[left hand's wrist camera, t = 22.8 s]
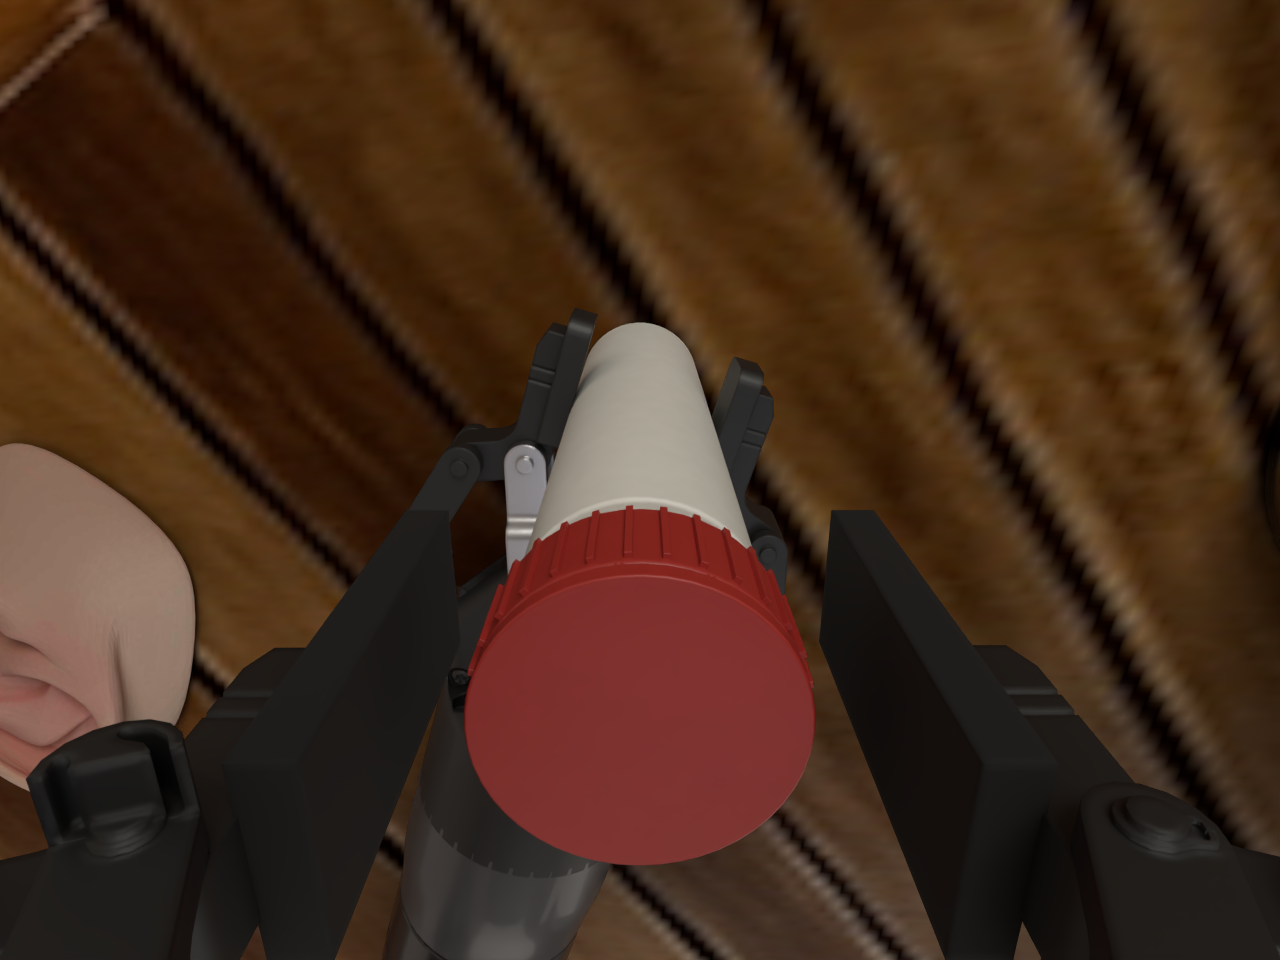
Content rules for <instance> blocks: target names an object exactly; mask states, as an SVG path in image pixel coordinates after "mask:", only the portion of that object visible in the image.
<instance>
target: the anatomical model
mask: <svg viewBox="0 0 1280 960" xmlns="http://www.w3.org/2000/svg"><path fill="white" fill-rule="evenodd" d="M194 639H195V601H194V593H193V587H192V582H191V578H190V574H189V572H188V569H187V566H186V564H185V562H184V560H183V558H182V556H181V555H180V553H179V552H178V550H177V549H176V547H175V546H174V544H173V543H172V541H171V540H170V539H169V538H168V537H167V536H166V535H165V533H164V532H163V531H162V530H161V529H160V528H159V527H158V526H157V525H156V524H155V523H154V522H153V521H152V520H151V519H150V518H149V517H148V516H147V515H146V514H144V513H143V512H142V511H141V510H140V509H138V508H137V507H136V506H135V505H133V504H132V503H131V502H130V501H129V500H127V499H126V498H125V497H123V496H122V495H120V494H119V493H118V492H116V491H115V490H113V489H112V488H111V487H109V486H108V485H106V484H105V483H103V482H102V481H100V480H99V479H97V478H96V477H94V476H93V475H91V474H89V473H88V472H86V471H85V470H83V469H82V468H80V467H78V466H76V465H75V464H73V463H71V462H69V461H67V460H65V459H64V458H62V457H60V456H58V455H56V454H54V453H52V452H50V451H47V450H45V449H42V448H39V447H36V446H33V445H28V444H21V443H14V444H7V445H4V446H1V447H0V776H1V777H3V778H5V779H6V780H8V781H10V782H12V783H13V784H15V785H17V786H19V787H21V788H23V789H26V790H28V791H30V790H29V788H28V785H27V782H26V778H27V777H28V775H29V774H30V773H31V772H32V771H33V769H34V768H35V767H36V766H37V765H38V763H39V762H40V761H41V760H42V759H44V758H45V757H46V756H48V755H49V754H51V753H52V752H53V751H55V750H56V749H58V748H59V747H60V746H62V745H63V744H65V743H67V742H69V741H71V740H73V739H75V738H77V737H79V736H82V735H84V734H86V733H88V732H90V731H92V730H95V729H98V728H102V727H105V726H109V725H112V724H116V723H120V722H123V721H134V720H145V719H152V720H158V721H163V722H169V723H171V724H172V725H174V726H175V724H176V722H177V720H178V719H179V716H180V713H181V711H182V708H183V705H184V702H185V699H186V695H187V690H188V685H189V680H190V675H191V668H192V661H193V651H194Z"/></svg>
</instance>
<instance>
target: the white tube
mask: <svg viewBox="0 0 1280 960" xmlns="http://www.w3.org/2000/svg"><path fill="white" fill-rule="evenodd" d="M628 505H633V509H650V510H660V506H662V507H667V508H668V512H673V513H678V514H683V515H686V516H689V517H692V516H693V514H696V515H699V516H700V517H701V521H704V522H706V523H708V524H710V525H712V526H714V527H716V528H718V529H720V530H722V529H723V528H724V527H725V528H727V529H729V530H730V533H731V536H732V537H733V538H734V539H736V540H737V541H738V542H739V543H741V544H742V545H743V546H744V547H745V548H746V549H747V548H748V547H749V546H751V547H752V545H751V542H750V539H749V536H748V533H747V529H746V526H745V523H744V520H743V517H742V513H741V510H740V507H739V504H738V501H737V498H736V494H735V491H734V488H733V485H732V482H731V478H730V475H729V472H728V469H727V466H726V463H725V459H724V456H723V453H722V450H721V447H720V443H719V440H718V437H717V434H716V431H715V428H714V424H713V421H712V418H711V415H710V412H709V408H708V405H707V402H706V399H705V396H704V393H703V389H702V386H701V383H700V380H699V377H698V374H697V370H696V367H695V364H694V361H693V358H692V356H691V354H690V352H689V350H688V348H687V347H686V346H685V344H684V343H683V342H682V341H681V340H680V339H679V338H678V337H677V336H676V335H674V334H673V333H672V332H670V331H668V330H667V329H665V328H662V327H660V326H657V325H653V324H648V323H631V324H626V325H622V326H620V327H617V328H615V329H613V330H611V331H609V332H608V333H606V334H605V335H604V336H603V337H601V338H600V339H599V340H598V341H597V343H596V344H595V345H594V347H593V348H592V349H591V351H590V353H589V355H588V357H587V360H586V363H585V366H584V369H583V372H582V375H581V378H580V382H579V385H578V388H577V392H576V395H575V398H574V402H573V405H572V408H571V411H570V414H569V417H568V420H567V423H566V426H565V429H564V432H563V436H562V439H561V442H560V445H559V448H558V451H557V455H556V458H555V461H554V464H553V467H552V470H551V474H550V477H549V480H548V483H547V486H546V489H545V493H544V496H543V499H542V502H541V505H540V508H539V512H538V515H537V518H536V521H535V524H534V527H533V531H532V534H531V537H530V540H529V543H528V547H527V550H526V553H525V556H526V555H527V554H528V553H529V551H530V550H531V549H532V546H533V543H534V541H535V540H536V539H538V538H540V539H541V540H542V541H543V540H544V539H545V538H546V537H548V536H550V535H551V534H553V533H554V532H556V531H558V530H559V529H560V526H561V523H563V522H566V521H568V523H569V524H572V523H574V522H576V521H578V520H581V519H584V518H587V517H590V516H592V512H593V511H596V510H599V511H600V513H606V512H612V511H618V510H624V509H625V510H626V506H628ZM525 556H524V557H525Z"/></svg>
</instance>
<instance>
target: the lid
mask: <svg viewBox="0 0 1280 960" xmlns="http://www.w3.org/2000/svg"><path fill="white" fill-rule="evenodd" d="M807 657H808V656H807V653H806V651H805V648H804V645H803V642H802V640H801V637H800V634H799V631H798V628H797V626H796V623H795V620H794V617H793V614H792V612H791V609H790V606H789V603H788V601H787V598H786V595H782V594H781V591H780V588H779V586H778V583H777V580H776V577H775V574H774V572H773V571H772V569H769V570H768V571H766V570H765V568H764V567H763V565H762V564H761V563H760V562H759V561H758V558H757V555H756V552H755V549H753V548H752V547H751V546H749V547H748V548H747V549H746V548H745V547H744V546H743V545H742V544H741V543H739V542H738V541H737V540H736V539H734V538H733V537H732V536H731V533H730V530H729V529H727V528H725V527H724V528H723V529H722V530H720V529H718V528H716V527H714V526H712V525H710V524H708V523H706V522H704V521H701V517H700V516H699V515H696V514H693V516H692V517H689V516H686V515H683V514H678V513H673V512H668V508H667V507H662V506H660V510H650V509H633V505H628V506H626V510H625V509H624V510H618V511H612V512H606V513H600V511H599V510H596V511H593V512H592V516H590V517H587V518H584V519H581V520H578V521H576V522H574V523H572V524H569V523H568V521H566V522H563V523H561V526H560V529H559V530H558V531H556V532H554V533H553V534H551V535H550V536H548V537H546V538H545V539H544V540H543V541H542V540H541V539H540V538H538V539H536V540H535V541H534V543H533V546H532V549H531V550H530V551H529V553H528V554H527V555H526V556H525V557H524V558H523V559H522V560H521V561H519V560H517V559H515V561H514V562H513V563H512V566H511V569H510V571H509V574H508V577H507V580H506V583H505V585H501V584H499V585H498V587H497V589H496V592H495V595H494V597H493V600H492V603H491V606H490V609H489V611H488V614H487V617H486V620H485V622H484V625H483V628H482V631H481V634H480V636H479V639H478V642H477V646H476V648H475V651H474V654H473V657H472V660H471V662H470V665H469V668H468V672H467V675H468V676H471V680H470V683H469V686H468V689H467V693H466V698H465V706H464V732H465V738H466V745H467V749H468V752H469V755H470V758H471V761H472V765H473V767H474V769H475V771H476V773H477V775H478V777H479V779H480V782H481V783H482V785H483V786H484V788H485V789H486V791H487V792H488V794H489V795H490V797H491V798H492V800H493V801H494V802H495V803H496V804H497V805H498V806H499V807H500V808H501V810H502V811H503V812H504V813H505V814H506V815H507V816H508V817H510V818H511V819H512V820H513V821H514V822H515V823H516V824H518V825H519V826H520V827H521V828H523V829H524V830H526V831H527V832H529V833H530V834H532V835H533V836H535V837H536V838H538V839H540V840H542V841H543V842H545V843H547V844H549V845H551V846H553V847H555V848H557V849H560V850H563V851H565V852H568V853H570V854H573V855H576V856H580V857H583V858H587V859H591V860H594V861H600V862H606V863H612V864H622V865H659V864H667V863H674V862H680V861H684V860H688V859H692V858H697V857H700V856H703V855H706V854H709V853H711V852H714V851H717V850H720V849H722V848H724V847H726V846H728V845H730V844H732V843H734V842H736V841H738V840H740V839H741V838H743V837H744V836H746V835H748V834H749V833H751V832H752V831H754V830H755V829H757V828H758V827H759V826H760V825H761V824H763V823H764V822H765V821H766V820H768V819H769V818H770V817H771V816H772V815H773V814H774V813H775V812H776V811H777V810H778V809H779V808H780V807H781V806H782V805H783V804H784V802H785V801H786V800H787V798H788V797H789V795H790V794H791V793H792V791H793V790H794V789H795V787H796V785H797V783H798V782H799V780H800V778H801V776H802V774H803V772H804V770H805V768H806V765H807V762H808V759H809V756H810V754H811V750H812V745H813V740H814V735H815V717H816V713H815V705H814V697H813V692H812V689H811V688H814V682H813V679H812V676H811V673H810V670H809V668H808V665H807V662H806V659H805V658H807Z"/></svg>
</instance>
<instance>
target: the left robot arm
mask: <svg viewBox="0 0 1280 960" xmlns="http://www.w3.org/2000/svg"><path fill="white" fill-rule="evenodd" d="M1265 502H1266V508H1267V515H1268V520H1269V523H1270V526H1271V530H1272V533H1273V535H1274V538H1275V540H1276V542H1277V545H1278V547H1279V548H1280V419H1279V421H1278V424H1277V427H1276V429H1275V432H1274V436H1273V439H1272V442H1271V446H1270V450H1269V455H1268V460H1267V466H1266V477H1265ZM460 642H461V639H460V628H459V617H458V607H457V596H456V585H455V575H454V564H453V553H452V543H451V532H450V521H449V511H448V510H406V511H405V513H404V514H403V515H402V517H401V518H400V519H399V521H398V522H397V524H396V525H395V526H394V528H393V529H392V530H391V532H390V533H389V535H388V536H387V537H386V539H385V540H384V541H383V543H382V544H381V546H380V547H379V548H378V550H377V551H376V552H375V554H374V555H373V556H372V558H371V559H370V561H369V562H368V563H367V565H366V566H365V567H364V569H363V570H362V572H361V573H360V574H359V576H358V577H357V578H356V580H355V581H354V583H353V584H352V585H351V587H350V588H349V589H348V591H347V592H346V594H345V595H344V596H343V598H342V599H341V600H340V602H339V603H338V604H337V606H336V607H335V609H334V610H333V611H332V613H331V614H330V615H329V617H328V618H327V620H326V621H325V622H324V624H323V625H322V626H321V628H320V629H319V631H318V632H317V633H316V635H315V636H314V637H313V639H312V640H311V641H310V643H309V644H308V646H307V647H306V648H274V649H272V650H271V651H269V652H268V653H266V654H265V655H263V656H262V657H260V658H259V659H257V660H255V661H254V662H252V663H251V664H249V665H248V666H246V667H245V668H243V670H242V671H241V672H240V673H239V674H238V676H237V677H236V678H235V679H234V680H233V682H232V683H231V684H230V685H229V686H228V688H227V689H226V690H225V691H224V692H223V697H219V698H218V700H217V701H216V702H215V703H214V705H213V706H212V707H211V708H210V709H209V711H208V712H207V716H206V718H202V719H201V720H200V721H199V723H198V724H197V725H196V726H195V727H194V729H193V730H192V731H191V732H190V733H189V735H188V736H187V737H186V738H185V740H184V738H183V734H182V732H181V731H180V730H179V729H177V728H176V727H175V726H174V725H172V724H171V723H169V722H163V721H158V720H152V719H145V720H134V721H123V722H120V723H116V724H112V725H109V726H105V727H102V728H98V729H95V730H92V731H90V732H88V733H86V734H84V735H82V736H79V737H77V738H75V739H73V740H71V741H69V742H67V743H65V744H63V745H62V746H60V747H59V748H58V749H56V750H55V751H53V752H52V753H51V754H49V755H48V756H46V757H45V758H44V759H42V760H41V761H40V762H39V763H38V765H37V766H36V767H35V768H34V769H33V771H32V772H31V773H30V774H29V775H28V777H27V778H26V782H27V785H28V788H29V790H30V793H31V796H32V799H33V802H34V805H35V808H36V811H37V814H38V816H39V819H40V822H41V825H42V828H43V831H44V834H45V837H46V840H47V843H48V845H49V847H48V849H45V850H42V851H38V852H34V853H30V854H26V855H21V856H17V857H13V858H8V859H4V860H0V960H240V958H241V956H242V954H243V952H244V950H245V949H246V947H247V945H248V943H249V941H250V939H251V937H252V935H253V933H254V931H255V929H256V927H257V925H258V924H259V928H260V932H261V937H262V941H263V945H264V949H265V954H266V958H267V960H335V957H336V955H337V952H338V950H339V947H340V945H341V942H342V940H343V937H344V935H345V932H346V930H347V927H348V925H349V922H350V920H351V917H352V915H353V912H354V909H355V907H356V904H357V902H358V899H359V897H360V894H361V892H362V889H363V887H364V884H365V882H366V879H367V877H368V874H369V872H370V869H371V867H372V864H373V862H374V859H375V857H376V854H377V852H378V849H379V846H380V844H381V841H382V839H383V836H384V834H385V831H386V829H387V826H388V824H389V821H390V819H391V816H392V814H393V811H394V809H395V806H396V804H397V801H398V799H399V796H400V794H401V791H402V788H403V786H404V783H405V781H406V778H407V776H408V773H409V771H410V768H411V766H412V763H413V761H414V758H415V756H416V753H417V751H418V748H419V746H420V743H421V741H422V738H423V736H424V733H425V731H426V728H427V725H428V723H429V720H430V718H431V715H432V713H433V710H434V708H435V705H436V703H437V700H438V698H439V695H440V693H441V690H442V688H443V685H444V683H445V680H446V678H447V675H448V673H449V670H450V667H451V665H452V662H453V660H454V657H455V655H456V652H457V650H458V647H459V645H460ZM819 642H820V645H821V647H822V650H823V652H824V655H825V657H826V660H827V662H828V665H829V667H830V670H831V673H832V675H833V678H834V680H835V683H836V685H837V688H838V690H839V693H840V695H841V698H842V700H843V703H844V705H845V708H846V710H847V713H848V715H849V718H850V720H851V723H852V725H853V728H854V731H855V733H856V736H857V738H858V741H859V743H860V746H861V748H862V751H863V753H864V756H865V758H866V761H867V763H868V766H869V768H870V771H871V773H872V776H873V778H874V781H875V783H876V786H877V788H878V791H879V794H880V796H881V799H882V801H883V804H884V806H885V809H886V811H887V814H888V816H889V819H890V821H891V824H892V826H893V829H894V831H895V834H896V836H897V839H898V841H899V844H900V846H901V849H902V852H903V854H904V857H905V859H906V862H907V864H908V867H909V869H910V872H911V874H912V877H913V879H914V882H915V884H916V887H917V889H918V892H919V894H920V897H921V899H922V902H923V904H924V907H925V909H926V912H927V915H928V917H929V920H930V922H931V925H932V927H933V930H934V932H935V935H936V937H937V940H938V942H939V945H940V947H941V950H942V952H943V955H944V957H945V960H1013V958H1014V954H1015V949H1016V945H1017V941H1018V937H1019V932H1020V928H1021V924H1022V921H1023V923H1024V925H1025V927H1026V929H1027V931H1028V933H1029V935H1030V937H1031V939H1032V941H1033V943H1034V944H1035V946H1036V948H1037V950H1038V952H1039V954H1040V956H1041V960H1280V857H1278V856H1274V855H1269V854H1265V853H1261V852H1256V851H1252V850H1248V849H1243V848H1240V847H1237V846H1233V845H1231V844H1230V843H1229V841H1228V840H1227V839H1226V837H1225V836H1224V834H1223V833H1222V832H1221V830H1220V829H1219V827H1218V826H1217V825H1216V824H1215V823H1213V822H1212V821H1211V820H1210V819H1209V818H1207V817H1206V816H1205V815H1204V814H1202V813H1201V812H1200V811H1199V810H1198V809H1196V808H1195V807H1193V806H1192V805H1190V804H1188V803H1186V802H1184V801H1182V800H1180V799H1178V798H1176V797H1175V796H1173V795H1171V794H1169V793H1167V792H1164V791H1161V790H1157V789H1154V788H1151V787H1148V786H1145V785H1142V784H1137V783H1134V781H1133V780H1132V779H1131V778H1130V777H1129V775H1128V774H1127V773H1126V772H1125V771H1124V769H1123V768H1122V767H1121V766H1120V765H1119V763H1118V762H1117V761H1116V760H1115V759H1114V757H1113V756H1112V755H1111V754H1110V753H1109V751H1108V750H1107V749H1106V748H1105V747H1104V745H1103V744H1102V743H1101V742H1100V741H1099V739H1098V738H1097V737H1096V736H1095V735H1094V733H1093V732H1092V731H1091V730H1090V729H1089V727H1088V726H1087V725H1086V724H1085V723H1084V721H1083V720H1082V719H1081V718H1080V717H1079V715H1074V709H1073V708H1072V707H1071V706H1070V705H1069V703H1068V702H1067V701H1066V700H1065V699H1064V697H1063V696H1062V695H1058V694H1057V689H1056V688H1055V687H1054V685H1053V684H1052V683H1051V682H1050V681H1049V680H1048V678H1047V677H1046V676H1045V675H1044V674H1043V672H1042V671H1041V670H1040V669H1039V668H1038V666H1037V665H1035V664H1033V663H1032V662H1030V661H1029V660H1027V659H1026V658H1024V657H1023V656H1021V655H1020V654H1018V653H1017V652H1015V651H1014V650H1012V649H1011V648H1009V647H1007V646H1006V645H972V644H971V643H970V641H969V640H968V639H967V637H966V636H965V635H964V633H963V632H962V631H961V629H960V628H959V626H958V625H957V624H956V622H955V621H954V620H953V618H952V617H951V615H950V614H949V613H948V611H947V610H946V609H945V607H944V606H943V604H942V603H941V602H940V600H939V599H938V598H937V596H936V595H935V594H934V592H933V591H932V589H931V588H930V587H929V585H928V584H927V583H926V581H925V580H924V578H923V577H922V576H921V574H920V573H919V572H918V570H917V569H916V567H915V566H914V565H913V563H912V562H911V561H910V559H909V558H908V557H907V555H906V554H905V552H904V551H903V550H902V548H901V547H900V546H899V544H898V543H897V541H896V540H895V539H894V537H893V536H892V535H891V533H890V532H889V530H888V529H887V528H886V526H885V525H884V524H883V522H882V521H881V519H880V518H879V517H878V515H877V514H876V513H875V511H874V510H832V511H831V521H830V532H829V543H828V553H827V564H826V575H825V585H824V596H823V607H822V617H821V628H820V639H819Z"/></svg>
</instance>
